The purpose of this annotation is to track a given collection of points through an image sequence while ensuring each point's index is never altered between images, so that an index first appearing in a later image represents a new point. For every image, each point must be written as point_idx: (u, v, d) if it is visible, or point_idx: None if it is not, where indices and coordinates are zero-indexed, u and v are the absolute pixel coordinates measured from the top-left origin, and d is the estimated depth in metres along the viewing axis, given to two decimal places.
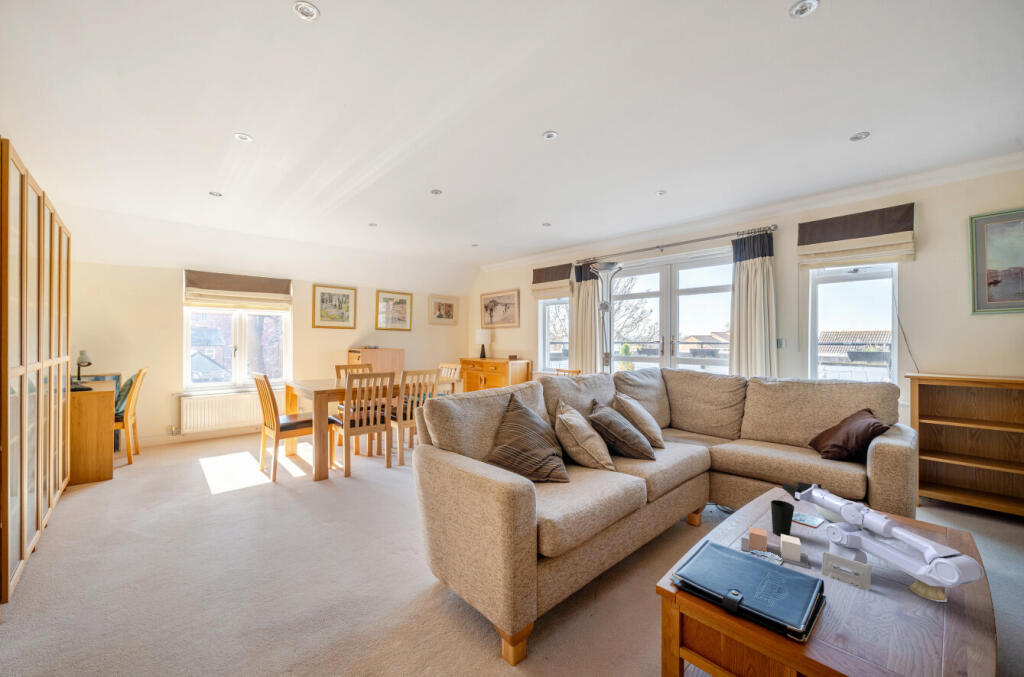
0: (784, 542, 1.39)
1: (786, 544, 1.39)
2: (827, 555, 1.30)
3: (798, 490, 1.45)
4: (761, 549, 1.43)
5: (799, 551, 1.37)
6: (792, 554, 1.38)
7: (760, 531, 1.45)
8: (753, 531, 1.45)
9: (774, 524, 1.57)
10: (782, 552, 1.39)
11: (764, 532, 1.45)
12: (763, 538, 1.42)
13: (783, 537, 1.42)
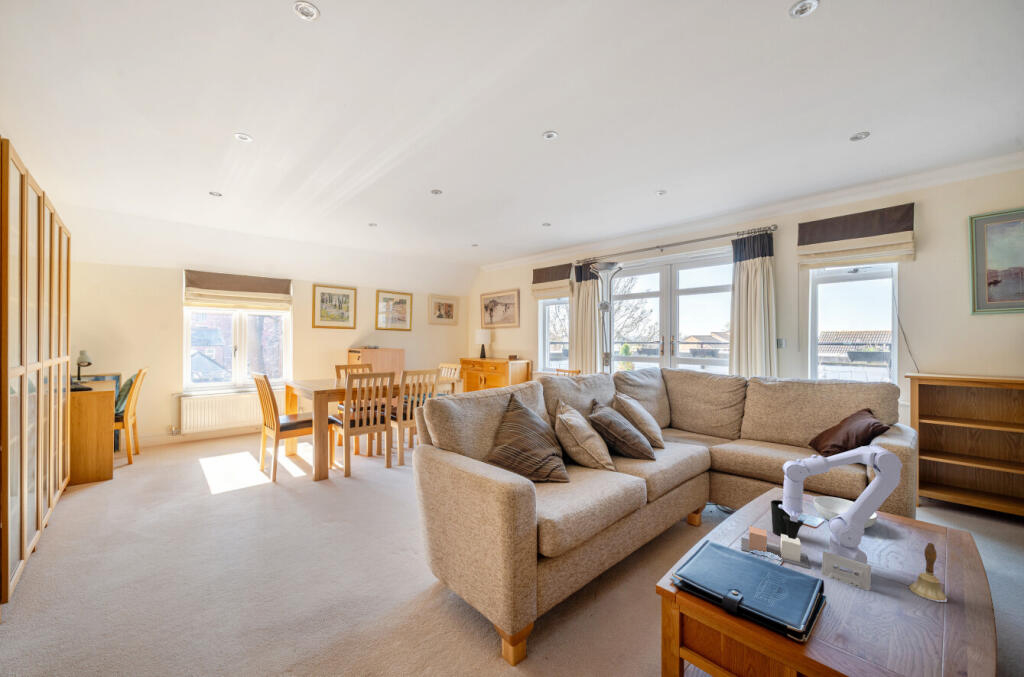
0: (784, 542, 1.39)
1: (786, 544, 1.39)
2: (827, 555, 1.30)
3: (788, 518, 1.36)
4: (761, 549, 1.43)
5: (799, 551, 1.37)
6: (792, 554, 1.38)
7: (760, 531, 1.45)
8: (753, 531, 1.45)
9: (774, 524, 1.57)
10: (782, 552, 1.39)
11: (764, 532, 1.45)
12: (763, 538, 1.42)
13: (783, 537, 1.42)
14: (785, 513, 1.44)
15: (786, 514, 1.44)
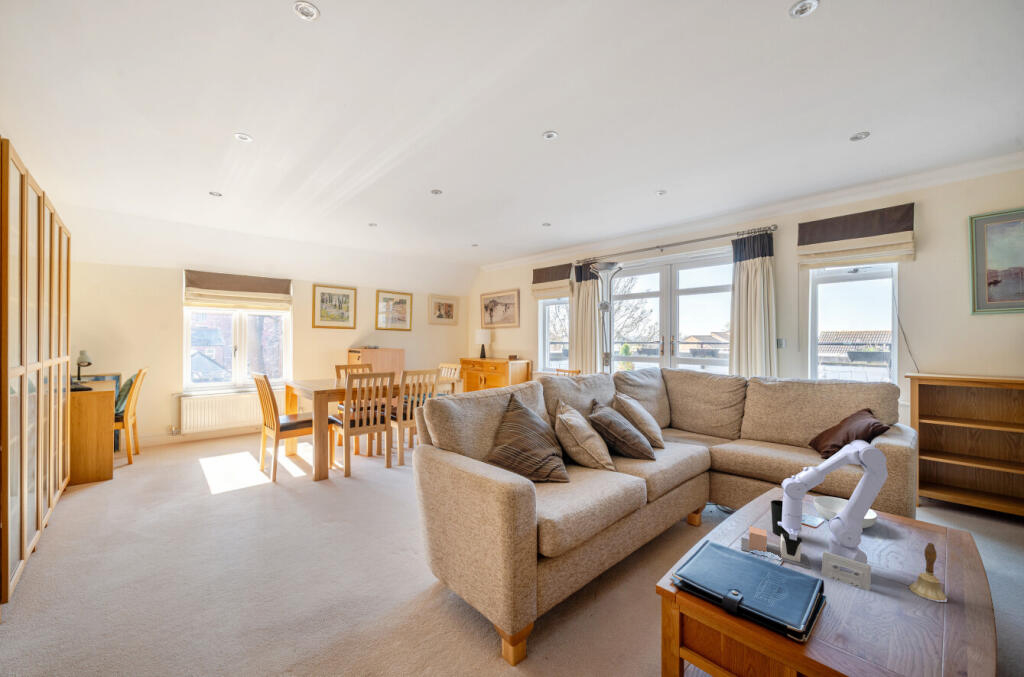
0: (784, 542, 1.39)
1: None
2: (827, 555, 1.30)
3: (787, 535, 1.37)
4: (761, 549, 1.43)
5: (799, 551, 1.37)
6: None
7: (760, 531, 1.45)
8: (753, 531, 1.45)
9: (774, 524, 1.57)
10: (782, 552, 1.39)
11: (764, 532, 1.45)
12: (763, 538, 1.42)
13: None
14: (784, 531, 1.44)
15: (785, 532, 1.44)
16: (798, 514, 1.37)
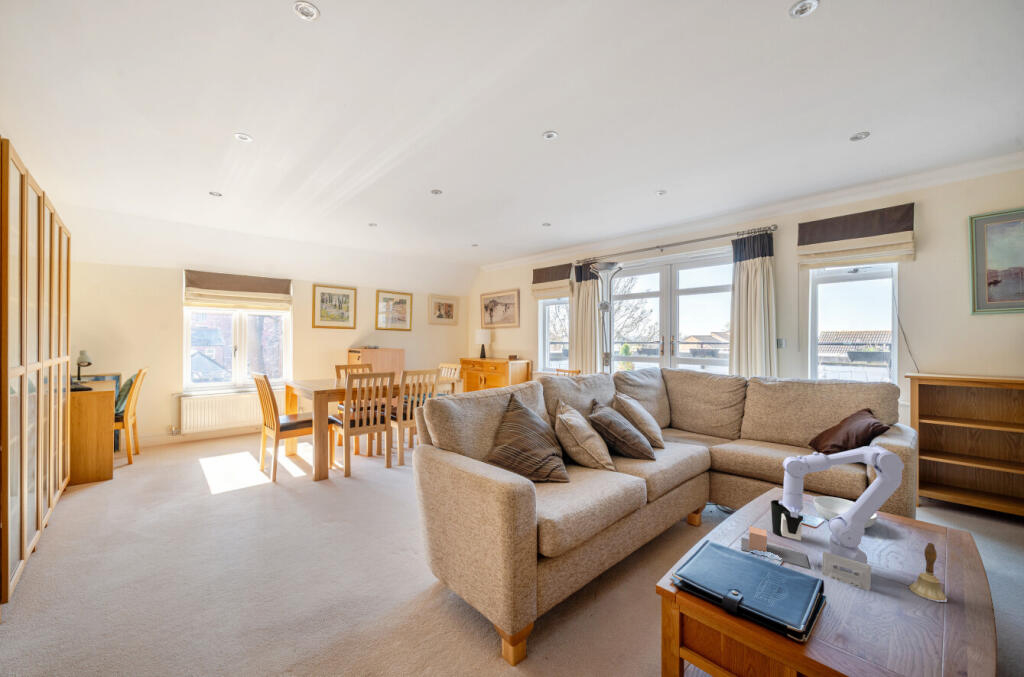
0: (785, 521, 1.39)
1: None
2: (827, 555, 1.30)
3: (788, 513, 1.37)
4: (761, 549, 1.43)
5: (800, 529, 1.37)
6: None
7: (760, 531, 1.45)
8: (753, 531, 1.45)
9: (774, 524, 1.57)
10: (783, 531, 1.39)
11: (764, 532, 1.45)
12: (763, 538, 1.42)
13: (784, 516, 1.41)
14: (786, 510, 1.44)
15: (787, 511, 1.43)
16: (799, 492, 1.37)
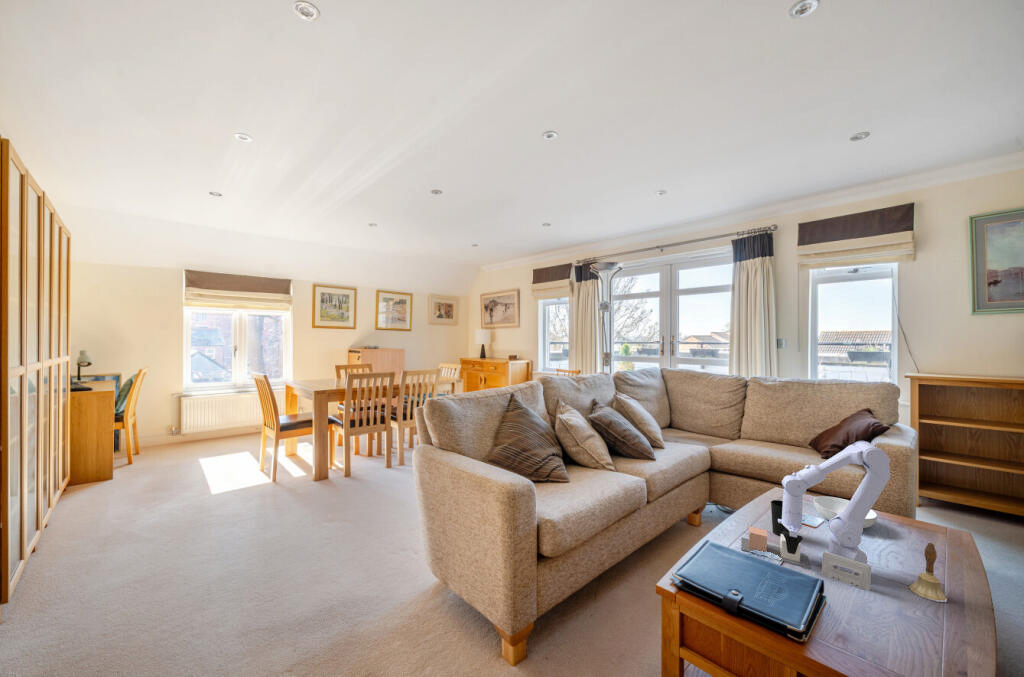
0: (784, 542, 1.39)
1: None
2: (827, 555, 1.30)
3: (787, 533, 1.36)
4: (761, 549, 1.43)
5: (799, 551, 1.37)
6: (792, 554, 1.38)
7: (760, 531, 1.45)
8: (753, 531, 1.45)
9: (774, 524, 1.57)
10: (782, 552, 1.40)
11: (764, 532, 1.45)
12: (763, 538, 1.42)
13: (783, 537, 1.42)
14: (784, 527, 1.44)
15: (785, 528, 1.44)
16: (798, 511, 1.37)
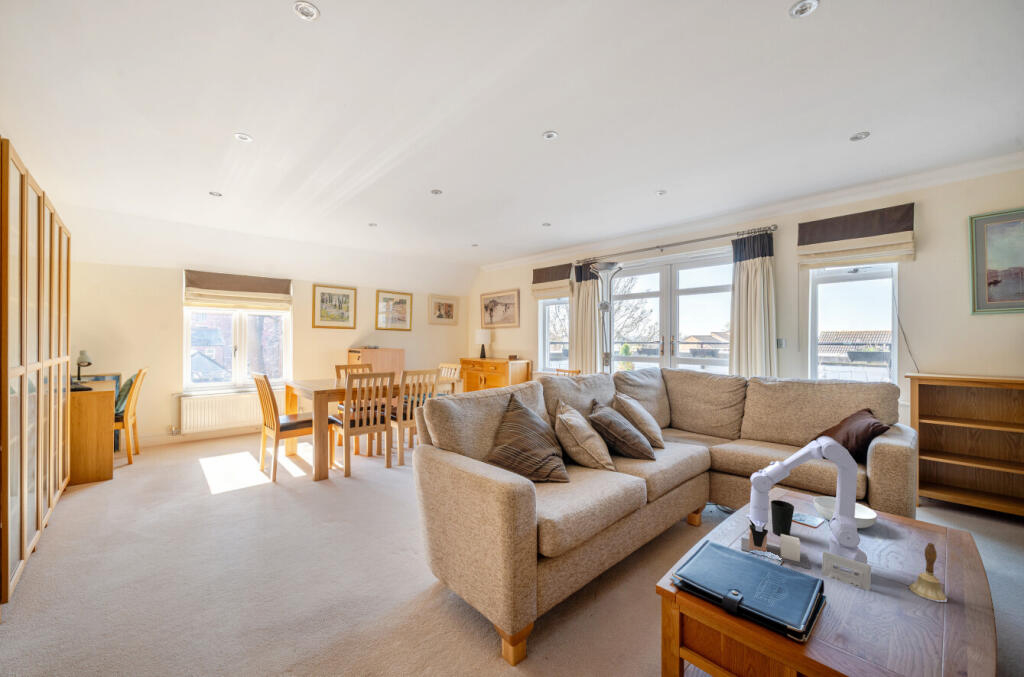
0: (784, 542, 1.39)
1: (786, 544, 1.39)
2: (827, 555, 1.30)
3: (754, 527, 1.42)
4: (761, 549, 1.43)
5: (799, 551, 1.37)
6: (792, 554, 1.38)
7: None
8: None
9: (774, 524, 1.57)
10: (782, 552, 1.40)
11: None
12: None
13: (783, 537, 1.42)
14: (753, 523, 1.49)
15: (754, 524, 1.49)
16: (764, 507, 1.42)
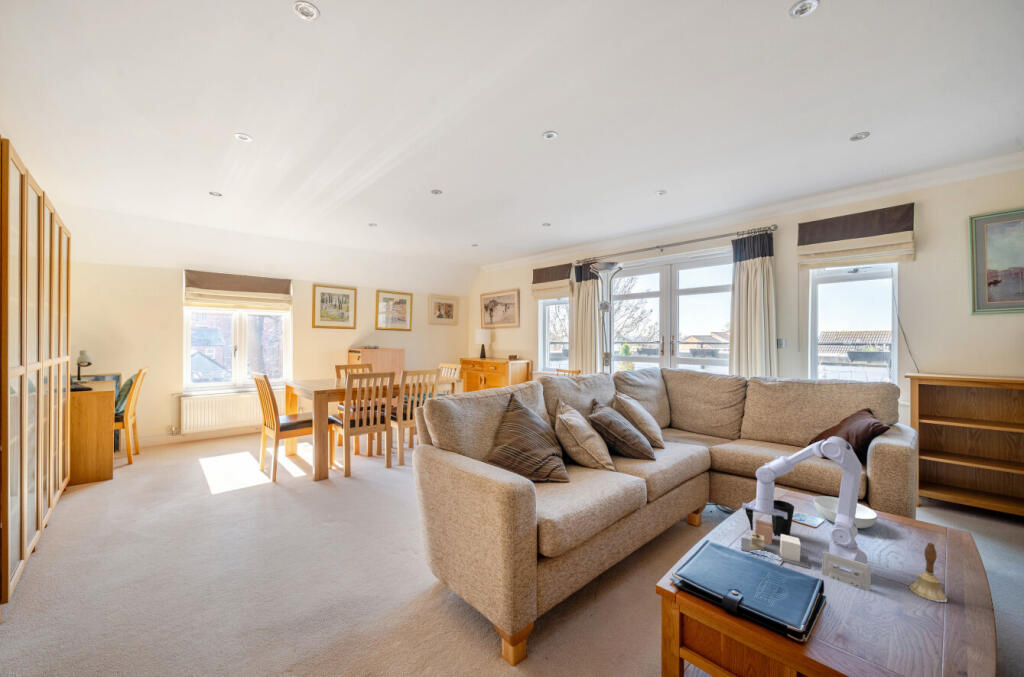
0: (784, 542, 1.39)
1: (786, 544, 1.39)
2: (827, 555, 1.30)
3: None
4: None
5: (799, 551, 1.37)
6: (792, 554, 1.38)
7: (764, 524, 1.52)
8: (759, 521, 1.54)
9: (774, 524, 1.57)
10: (782, 552, 1.40)
11: (765, 526, 1.50)
12: (755, 526, 1.52)
13: (783, 537, 1.42)
14: (775, 519, 1.52)
15: (775, 520, 1.51)
16: (766, 497, 1.49)
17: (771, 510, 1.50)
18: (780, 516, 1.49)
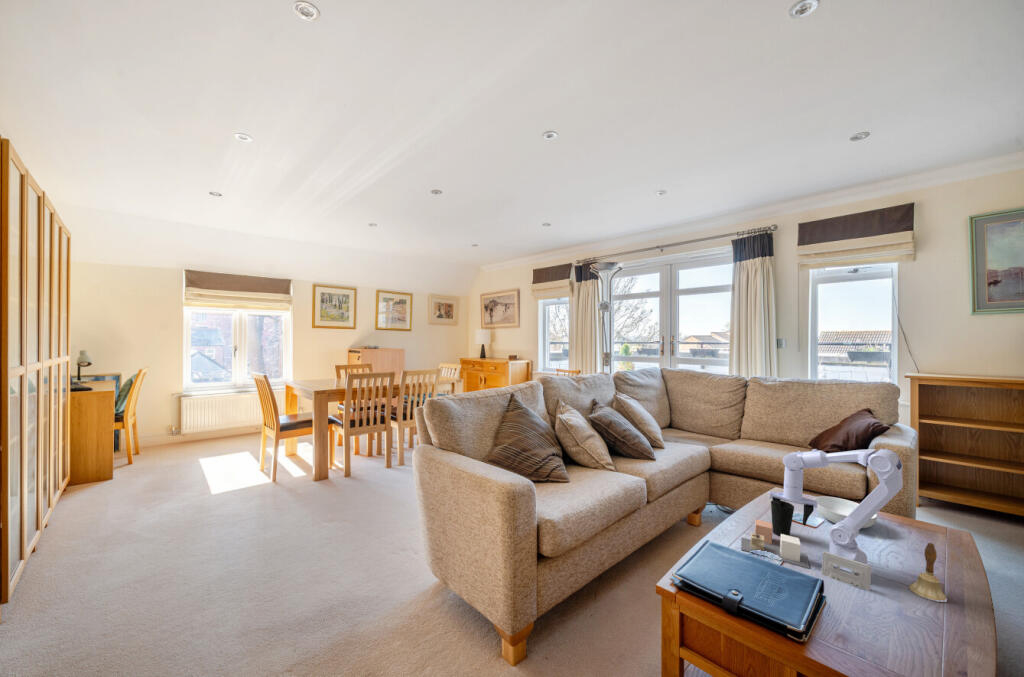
0: (784, 542, 1.39)
1: (786, 544, 1.39)
2: (827, 555, 1.30)
3: None
4: None
5: (799, 551, 1.37)
6: (792, 554, 1.38)
7: (764, 524, 1.52)
8: (759, 521, 1.54)
9: (774, 524, 1.57)
10: (782, 552, 1.40)
11: (765, 526, 1.50)
12: (755, 526, 1.52)
13: (783, 537, 1.42)
14: None
15: None
16: (795, 485, 1.44)
17: (800, 498, 1.44)
18: (809, 505, 1.44)
